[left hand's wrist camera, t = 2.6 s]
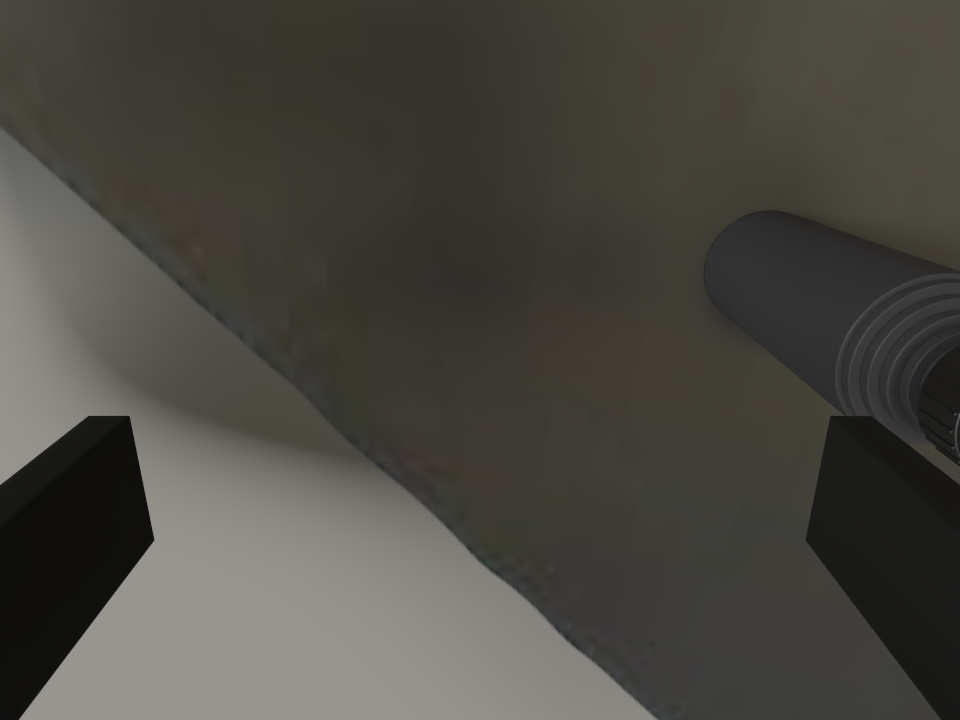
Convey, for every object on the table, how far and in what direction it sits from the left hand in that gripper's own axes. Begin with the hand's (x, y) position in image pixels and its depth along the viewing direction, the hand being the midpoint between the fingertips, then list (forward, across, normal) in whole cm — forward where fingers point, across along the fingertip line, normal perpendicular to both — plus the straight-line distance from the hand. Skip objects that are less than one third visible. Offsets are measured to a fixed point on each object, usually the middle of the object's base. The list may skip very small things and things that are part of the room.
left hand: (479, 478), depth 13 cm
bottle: (+28, +17, -2) cm, 33 cm away
